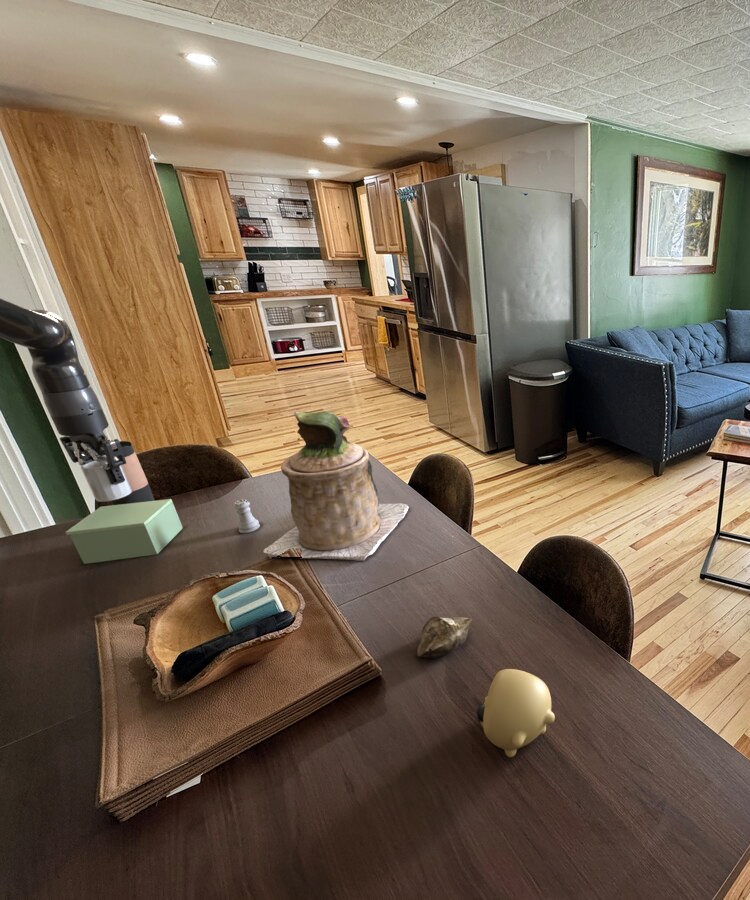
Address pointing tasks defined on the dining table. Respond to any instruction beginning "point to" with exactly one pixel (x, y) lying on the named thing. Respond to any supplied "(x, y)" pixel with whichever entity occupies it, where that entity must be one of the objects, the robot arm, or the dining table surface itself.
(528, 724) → the toy pig
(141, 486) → the travel mug
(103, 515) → the container lid
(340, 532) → the cookie jar
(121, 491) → the cup
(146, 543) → the container
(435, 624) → the fossilized seashell
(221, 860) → the dining table surface
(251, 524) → the rook chess piece
